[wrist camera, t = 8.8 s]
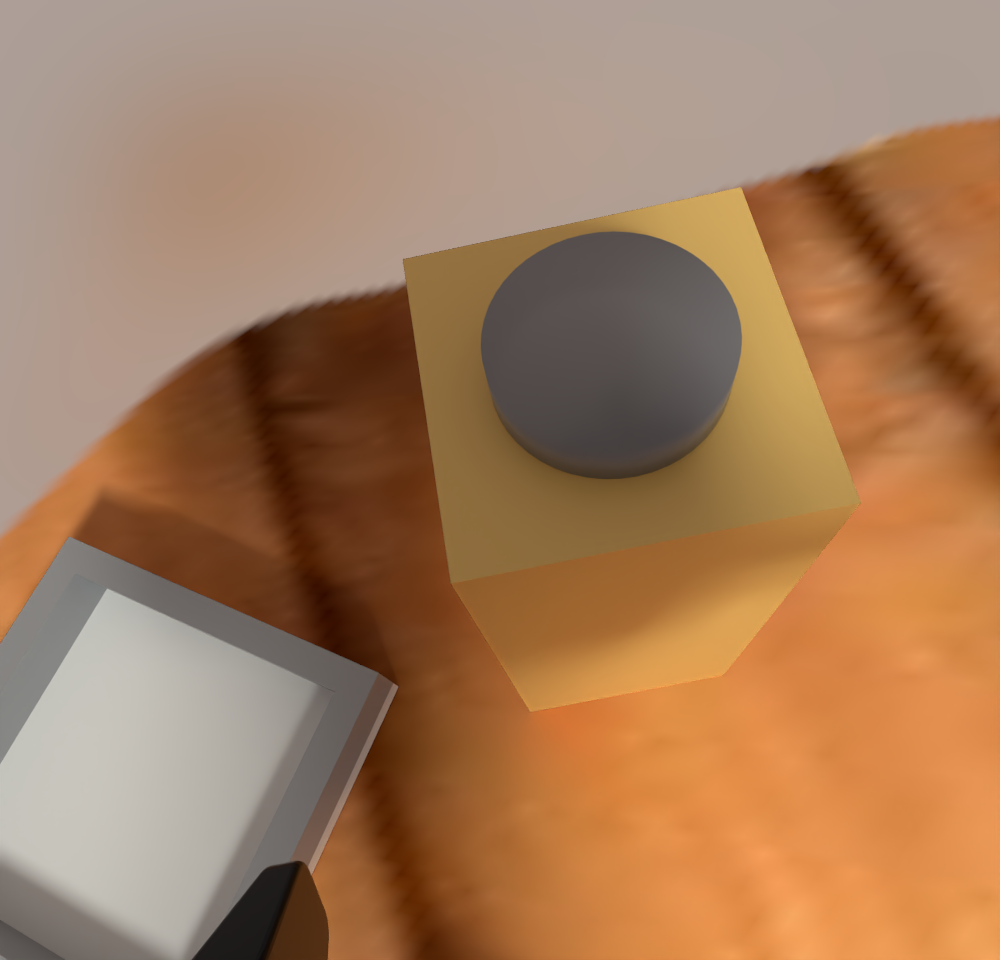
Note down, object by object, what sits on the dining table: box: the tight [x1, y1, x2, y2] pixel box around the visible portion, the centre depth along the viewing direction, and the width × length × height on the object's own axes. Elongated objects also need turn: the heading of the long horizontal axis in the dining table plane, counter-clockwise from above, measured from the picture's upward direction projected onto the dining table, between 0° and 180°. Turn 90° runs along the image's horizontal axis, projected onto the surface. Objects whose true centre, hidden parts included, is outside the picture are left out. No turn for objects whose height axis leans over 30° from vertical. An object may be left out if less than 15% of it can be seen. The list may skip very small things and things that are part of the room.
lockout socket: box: [0, 537, 398, 960], centre depth 20 cm, size 10×10×2 cm
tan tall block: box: [403, 187, 861, 712], centre depth 16 cm, size 5×5×13 cm
